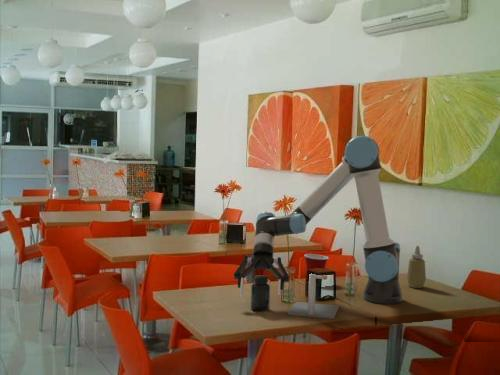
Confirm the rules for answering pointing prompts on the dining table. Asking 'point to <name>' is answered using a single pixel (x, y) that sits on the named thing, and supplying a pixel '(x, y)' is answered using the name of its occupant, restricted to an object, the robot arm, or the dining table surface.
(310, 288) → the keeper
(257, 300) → the supplement bottle
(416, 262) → the squeeze bottle
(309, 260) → the plastic cup
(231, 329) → the dining table surface
